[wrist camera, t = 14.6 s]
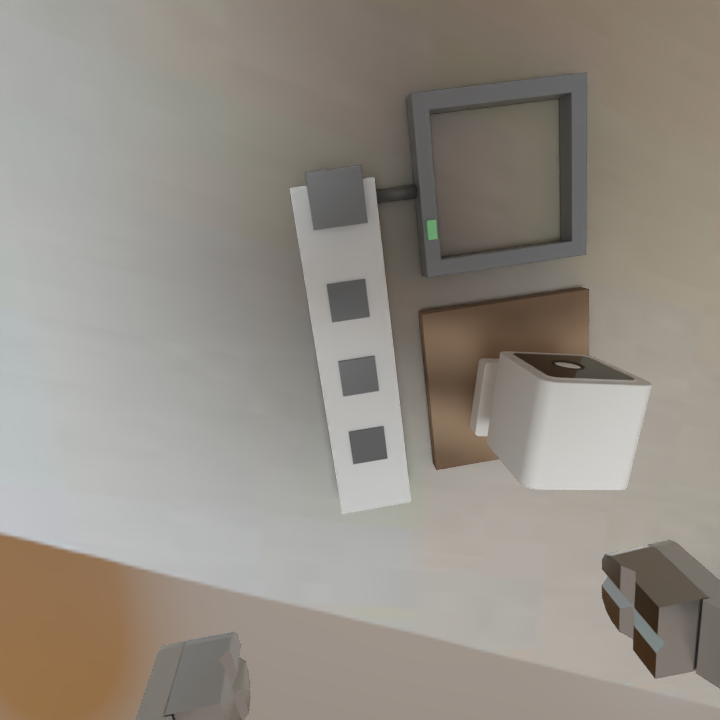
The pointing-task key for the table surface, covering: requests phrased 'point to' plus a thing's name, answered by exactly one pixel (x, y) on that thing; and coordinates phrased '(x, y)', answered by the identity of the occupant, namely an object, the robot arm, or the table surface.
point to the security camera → (560, 418)
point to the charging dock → (571, 168)
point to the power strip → (353, 332)
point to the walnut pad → (486, 340)
